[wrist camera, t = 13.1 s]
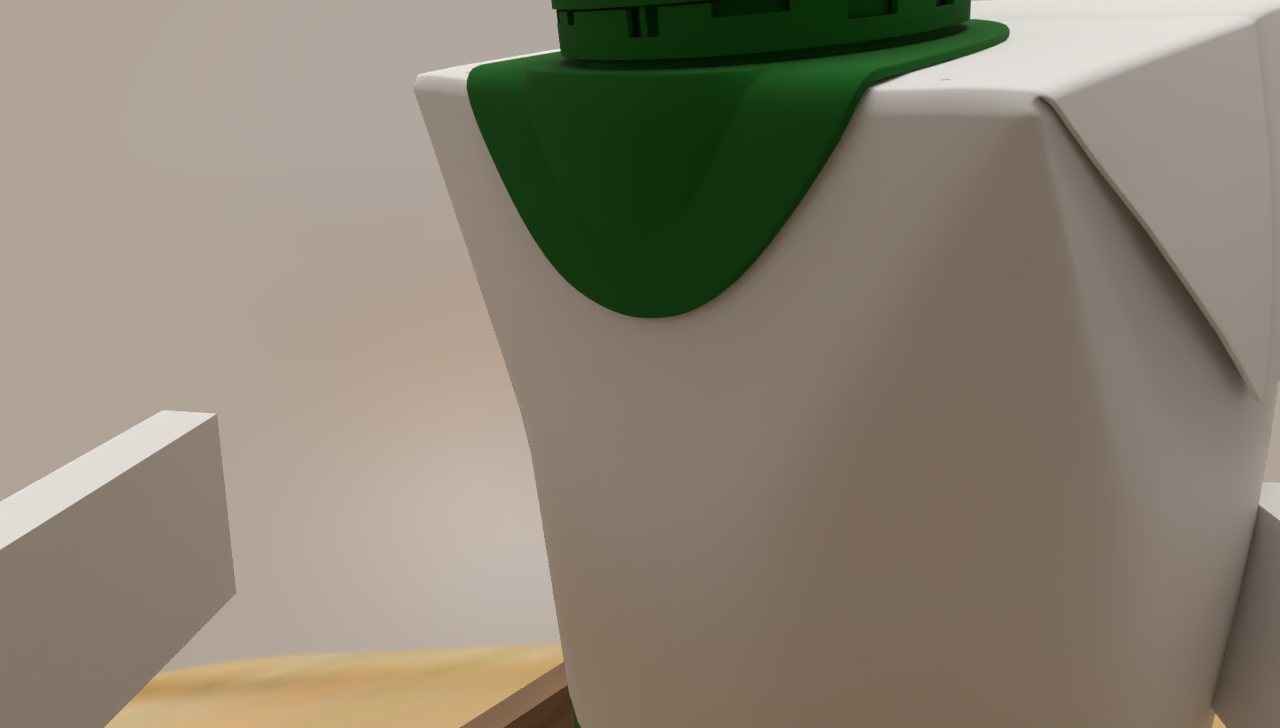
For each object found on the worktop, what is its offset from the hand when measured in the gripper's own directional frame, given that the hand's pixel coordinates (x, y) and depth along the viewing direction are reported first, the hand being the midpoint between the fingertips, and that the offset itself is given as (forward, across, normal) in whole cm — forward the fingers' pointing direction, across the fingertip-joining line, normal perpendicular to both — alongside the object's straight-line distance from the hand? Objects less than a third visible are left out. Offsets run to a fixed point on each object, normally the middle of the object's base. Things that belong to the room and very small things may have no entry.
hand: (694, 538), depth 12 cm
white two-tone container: (+3, +4, -11) cm, 12 cm away
